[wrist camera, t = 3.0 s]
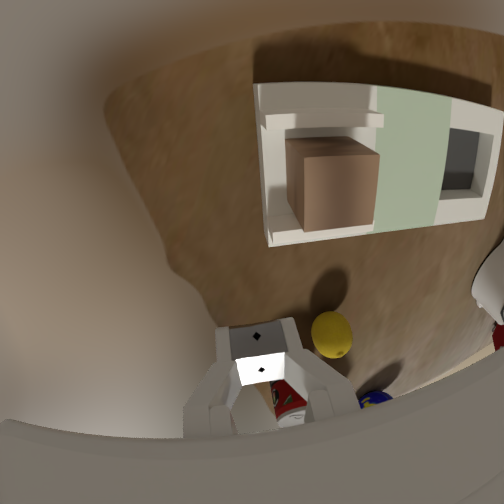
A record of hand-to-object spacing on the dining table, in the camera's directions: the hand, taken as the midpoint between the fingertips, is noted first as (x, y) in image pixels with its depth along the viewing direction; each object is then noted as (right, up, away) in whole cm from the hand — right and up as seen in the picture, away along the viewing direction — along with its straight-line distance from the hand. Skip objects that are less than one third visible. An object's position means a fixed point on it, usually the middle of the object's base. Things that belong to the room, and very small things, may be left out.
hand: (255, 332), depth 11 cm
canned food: (+6, -16, +37) cm, 41 cm away
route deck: (+16, +14, +18) cm, 28 cm away
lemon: (+10, -6, +31) cm, 33 cm away
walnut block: (+6, +11, +15) cm, 19 cm away
